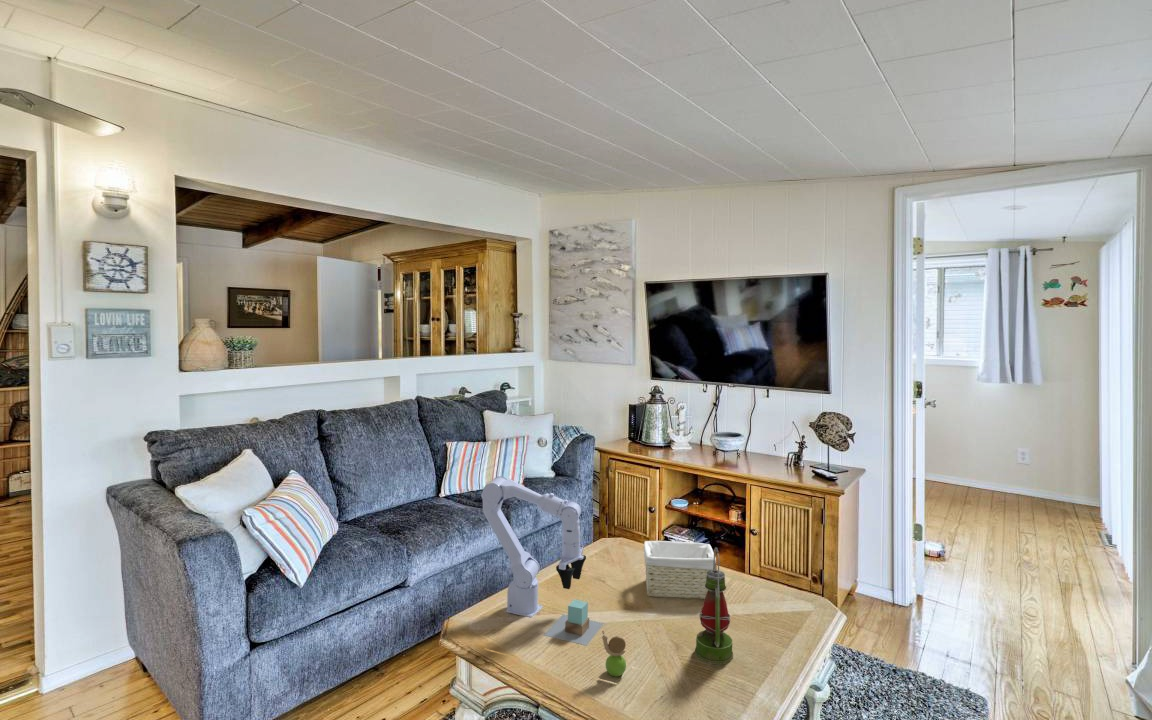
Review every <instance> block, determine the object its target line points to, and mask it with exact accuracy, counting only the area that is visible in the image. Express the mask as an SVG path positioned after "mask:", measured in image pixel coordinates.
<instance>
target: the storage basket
mask: <svg viewBox="0 0 1152 720" xmlns="http://www.w3.org/2000/svg"><path fill="white" fill-rule="evenodd" d="M643 543H644V544H643V553H644V554H643V555H644V562H645V586H646V593H647V596H649V597H656V598H681V599H686V600H687V599H701V600H705V597H706V594H707V591H708V589H706V588H705V584H706V579H707V571H710V570H713V560H714V549H713V548H712V546H711V544H710V543H703V542H695V541H694V542H692V541H691V542H690V541H689V542H688V541H667V540H644V542H643ZM715 563H716V564H717V558H716V557H715ZM714 570H715V569H714Z"/></svg>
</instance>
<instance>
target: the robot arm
mask: <svg viewBox="0 0 1152 720" xmlns="http://www.w3.org/2000/svg"><path fill="white" fill-rule="evenodd" d="M480 496H481V500H482V513H483V515H484V516H485V518H486V521H487V522H488V524H489V525H490V527H491V529H492V531H493V533H494V535H495V536H496V538H497V540H498V541H499V543H500V545H501V547H502V549H503V550H504V552H505V553H506V555H507V557H508V559H509V561H510V571H511V573H512V575H513V576H512V577H513V580H511V581H510V583H509V585H508V587H507V592H506V594H507V595H506V597H507V598H506V599H507V602H506V603H507V605H506V606H507V607H506V608H507V609H506V613H509V614H514V615H518V616H522V617H523V616H525V617H528V618H533V617H535V616H536V615H537V613H539V611H541V609H543V608H544V606H543V605H541V604H539V581H538V578H537V575H538V574H539V573H540V567H541V566H540V563H539V561H537V560H536V559H535V558H533V556H532V555H531V553H530V552H528V551H526V550H525V549H524V547H523V546H522V544H521V542H520V540H519V539H518V537H517V535H516V534H515V531H514V530H513V528H512V526H511V525H510V523H509V521H508V520H507V517H506V516H505V514H504V513H503V511H502V506H503V502H504V500H507V499H511V498H517V499H520V500H523V501H526V502H529V503H530V504H533V505H537V507H538V509H539V510H540V511H541V512H543V513H546V514H548V515H550V516H553V517H556V518H558V519H559V520H560V521H561V522H562V523H561V525H562V527H561V549H562V550H561V552H562V553H561V557H560V561H559V562H558V564H557V565H556V567H555V571H557V573H558V575H559V577H560V581H561V585H562V588H563V589H565V590H570V589H571V587H572V586H571V585H572V579H575V580H580V578H581V575H582V570H583V566H584V564H585V561H586V560H587V556H586V555H585V554H584V547H581V526H580V525H581V524H580V523H581V522H580V516H581V514H582V507H581V505H580V504H579V503H578V502H576V501H575V500H568V499H562V498H560V497H557V496H555V494H554V493H552V492H550V493H545V494H540V493H538V492H537V491H534V490H532V489H530V488H528V487H526V486H524V485H522V484H520V483H517V482H516V481H514V480H513V479H511V478H507V477H506V476H501V475H500V476H496V477H494V479H493V480H491V481H490V482H489V483H487V484H485V485H484V487H483V490H482V492H481V494H480ZM583 554H584V555H583ZM570 566H571V567H570Z"/></svg>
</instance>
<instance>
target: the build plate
mask: <svg viewBox="0 0 1152 720" xmlns="http://www.w3.org/2000/svg"><path fill="white" fill-rule="evenodd" d="M567 620H568V614H563V613H562V614H561V616H560V617H559V618H558V619H556V621H555V622H554V623H553V624H552V625H551V626H550V627H549V628H548V629H547V630H546V631H545V633H544V634H543V636H545V637H549V638H553V639H558V640H562V641H566V642H570V643H574V644H578V645H583V646H588V645H589V644H590V642H591V641H592V640H593V639H594V637H595V636H596V634H597V633H598V632H599V630H600V629H601V628H602V627H603V625H604V624H605V623H604V622H601V621H595V620H591V619H589V628H588V629H587V631H586V632H585V633H584V634H583V636H580V635H576V634H571V633H567V632H565V622H566V621H567Z"/></svg>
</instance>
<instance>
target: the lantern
mask: <svg viewBox="0 0 1152 720" xmlns="http://www.w3.org/2000/svg"><path fill="white" fill-rule="evenodd" d="M713 553H714V560H713V570H710V571H707V579H706V584H705V588H706V589H708V591H707V594H706V597H705V599H703V605H702V608H701V609H700V610H699V611H700V612H699V620H700V625H701V626H702V627H703V628H704V629H705V630H702V631H699V632H698V633H697V634H696V639H695V640H696V641H695V645H696V646H695V650H694V654H695V655H696V657H697V658H698V659H700V660H701V661H703V662H705V663H708V664H712V665H725V664H728V663H730V662H732V660H733V659H734V653H733V639H732V637H731V636H730V635H729V634H727V633H725V631H726V630H727V629H729V626H730V623H731V615H730V614H729V610H728V604H727V600H726V597H725V594H724V592H725V591H726V590H727V586H726V573H725V572H723V571H721V570H720V556H719V555H720V552H719V550H718V547H714V549H713ZM716 555H717V556H716ZM716 557H717V562H716V563H715V558H716ZM714 569H715V570H714Z"/></svg>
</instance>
